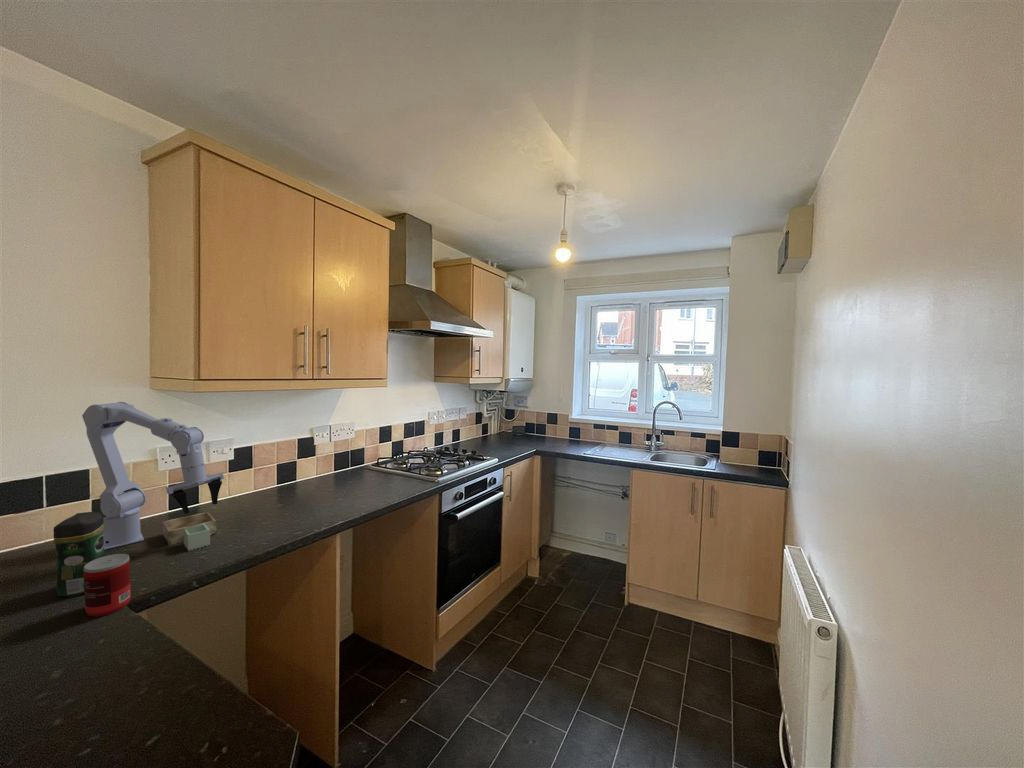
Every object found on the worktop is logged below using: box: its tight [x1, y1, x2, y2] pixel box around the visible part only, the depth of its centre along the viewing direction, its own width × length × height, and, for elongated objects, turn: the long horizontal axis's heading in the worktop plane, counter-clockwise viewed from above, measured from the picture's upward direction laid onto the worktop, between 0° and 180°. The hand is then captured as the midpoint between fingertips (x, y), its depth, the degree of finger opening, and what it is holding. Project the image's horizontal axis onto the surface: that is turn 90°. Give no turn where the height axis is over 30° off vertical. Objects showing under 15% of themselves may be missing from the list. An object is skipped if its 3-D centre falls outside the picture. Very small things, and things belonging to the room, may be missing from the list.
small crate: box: [183, 524, 211, 552], centre depth 128 cm, size 5×7×5 cm
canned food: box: [83, 553, 132, 617], centre depth 96 cm, size 8×8×11 cm
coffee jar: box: [53, 511, 106, 597], centre depth 103 cm, size 10×8×19 cm
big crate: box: [162, 511, 217, 546], centre depth 136 cm, size 12×11×4 cm
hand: (201, 508), depth 130 cm, fingers open, 7 cm apart
